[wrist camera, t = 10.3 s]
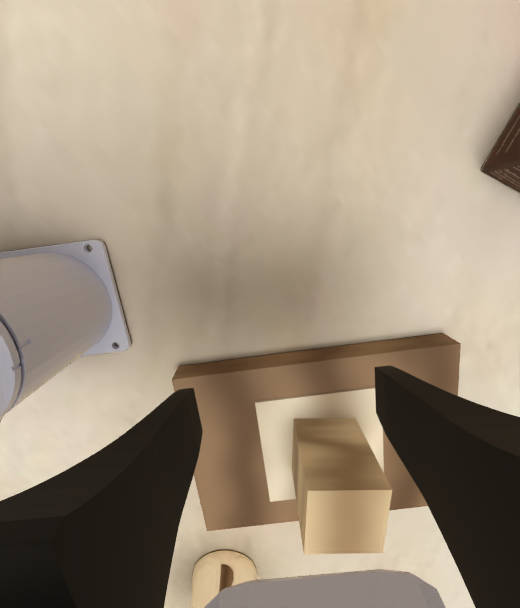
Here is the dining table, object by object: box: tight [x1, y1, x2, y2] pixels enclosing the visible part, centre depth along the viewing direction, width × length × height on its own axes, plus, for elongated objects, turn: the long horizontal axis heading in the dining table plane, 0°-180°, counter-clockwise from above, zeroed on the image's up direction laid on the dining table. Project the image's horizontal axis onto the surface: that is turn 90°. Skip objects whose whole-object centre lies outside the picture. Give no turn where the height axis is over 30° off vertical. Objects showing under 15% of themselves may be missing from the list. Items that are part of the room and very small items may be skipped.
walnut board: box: [172, 333, 460, 531], centre depth 23 cm, size 20×14×2 cm
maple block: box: [292, 418, 392, 554], centre depth 19 cm, size 4×4×6 cm
